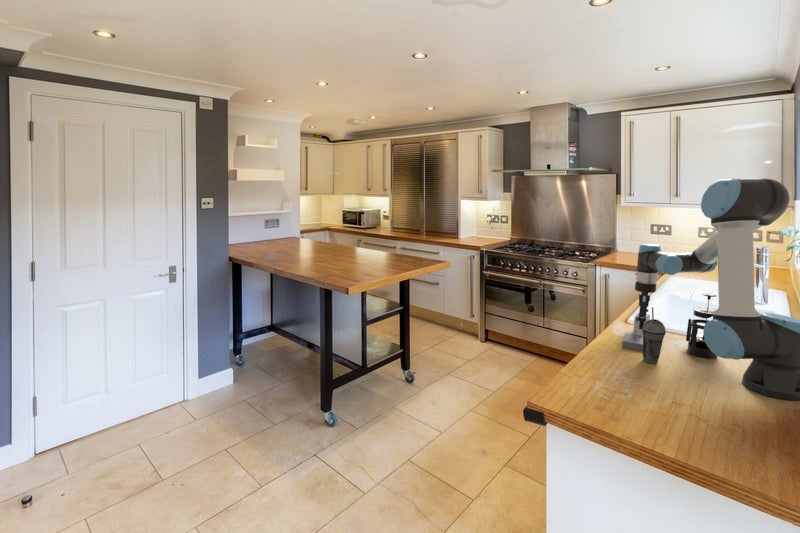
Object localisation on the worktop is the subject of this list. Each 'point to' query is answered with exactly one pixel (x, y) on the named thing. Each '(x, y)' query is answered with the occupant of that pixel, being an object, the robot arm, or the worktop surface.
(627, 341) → the base board
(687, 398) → the worktop surface
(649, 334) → the beverage cup
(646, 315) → the medicine box
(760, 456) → the worktop surface
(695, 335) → the french press
